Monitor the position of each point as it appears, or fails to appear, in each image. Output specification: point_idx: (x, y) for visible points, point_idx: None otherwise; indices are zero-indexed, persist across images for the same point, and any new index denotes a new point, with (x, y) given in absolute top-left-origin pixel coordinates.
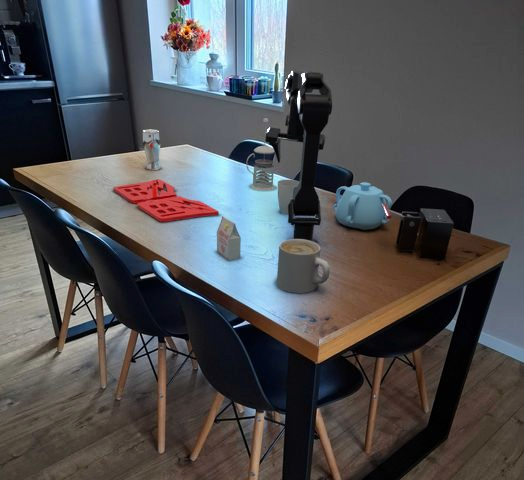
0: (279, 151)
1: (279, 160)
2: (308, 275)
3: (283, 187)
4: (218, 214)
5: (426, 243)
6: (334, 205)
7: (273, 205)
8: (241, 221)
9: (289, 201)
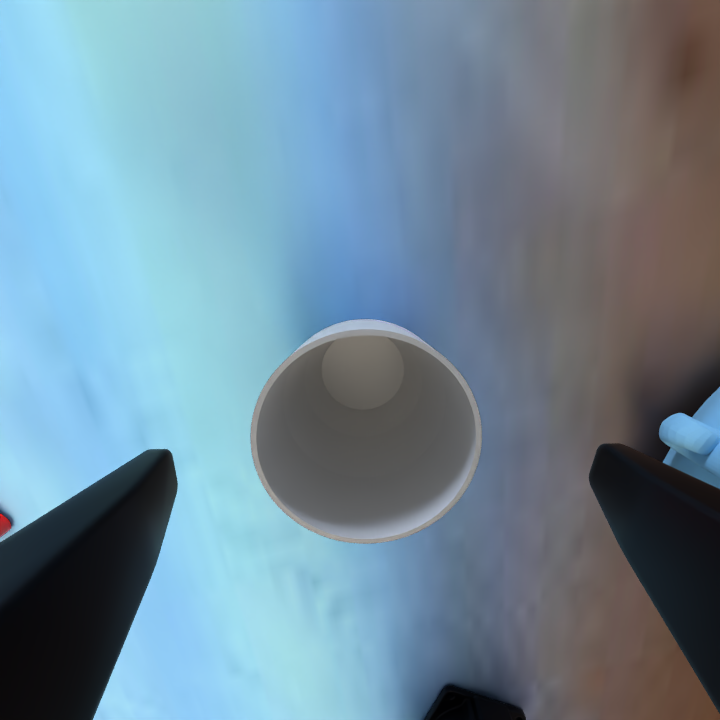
0: (48, 701)
1: (163, 538)
2: None
3: (324, 524)
4: (10, 523)
5: None
6: (680, 446)
7: (256, 259)
8: (156, 570)
9: (377, 466)
